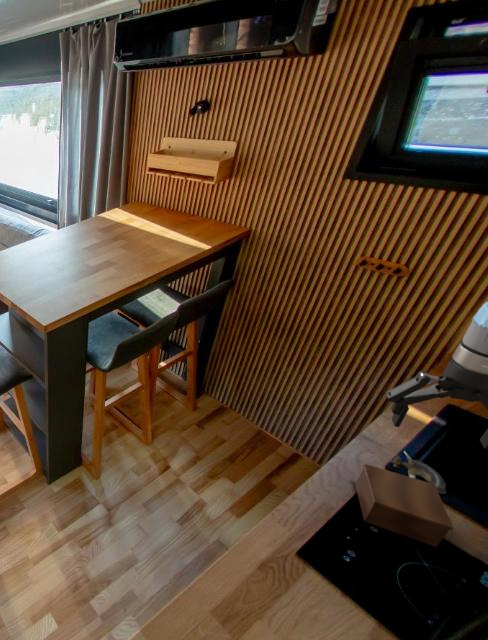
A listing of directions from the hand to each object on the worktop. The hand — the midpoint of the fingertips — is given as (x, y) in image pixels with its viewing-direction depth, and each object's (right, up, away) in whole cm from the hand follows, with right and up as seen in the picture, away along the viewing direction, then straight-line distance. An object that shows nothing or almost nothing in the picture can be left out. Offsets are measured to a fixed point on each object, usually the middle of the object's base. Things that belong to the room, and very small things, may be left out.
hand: (437, 433), depth 87 cm
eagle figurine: (+3, -15, +7) cm, 17 cm away
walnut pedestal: (-10, -20, +1) cm, 23 cm away
